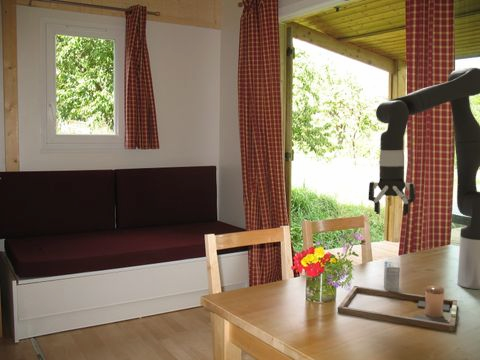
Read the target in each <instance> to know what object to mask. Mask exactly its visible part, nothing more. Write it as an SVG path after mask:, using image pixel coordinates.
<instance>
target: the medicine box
mask: <svg viewBox="0 0 480 360" xmlns="http://www.w3.org/2000/svg"><path fill="white" fill-rule="evenodd" d="M400 272H401V268H400V265H399V262H397V261H388V260H387V261H384V271H383V273H384V275H383V286H384V290H387V291H394V292H400V278H401V277H400V275H401V273H400Z"/></svg>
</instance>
